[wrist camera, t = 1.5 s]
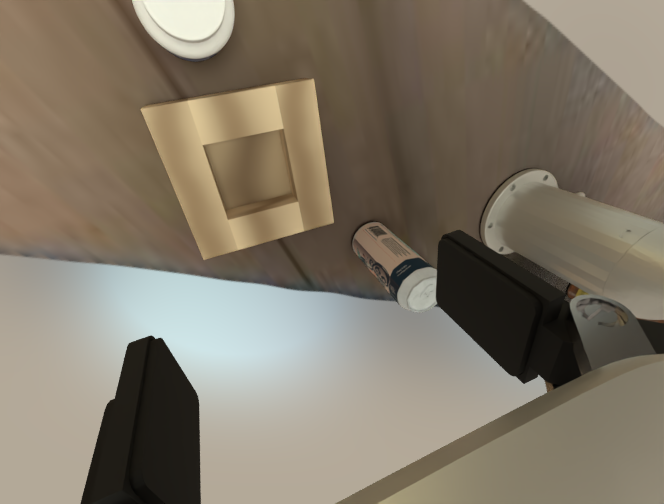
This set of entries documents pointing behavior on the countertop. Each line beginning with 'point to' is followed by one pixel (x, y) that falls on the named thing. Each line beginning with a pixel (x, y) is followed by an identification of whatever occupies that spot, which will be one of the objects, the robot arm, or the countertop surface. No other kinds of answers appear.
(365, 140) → the countertop surface
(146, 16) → the pill bottle
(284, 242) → the countertop surface
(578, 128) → the countertop surface
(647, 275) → the robot arm
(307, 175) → the socket block
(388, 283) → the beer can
